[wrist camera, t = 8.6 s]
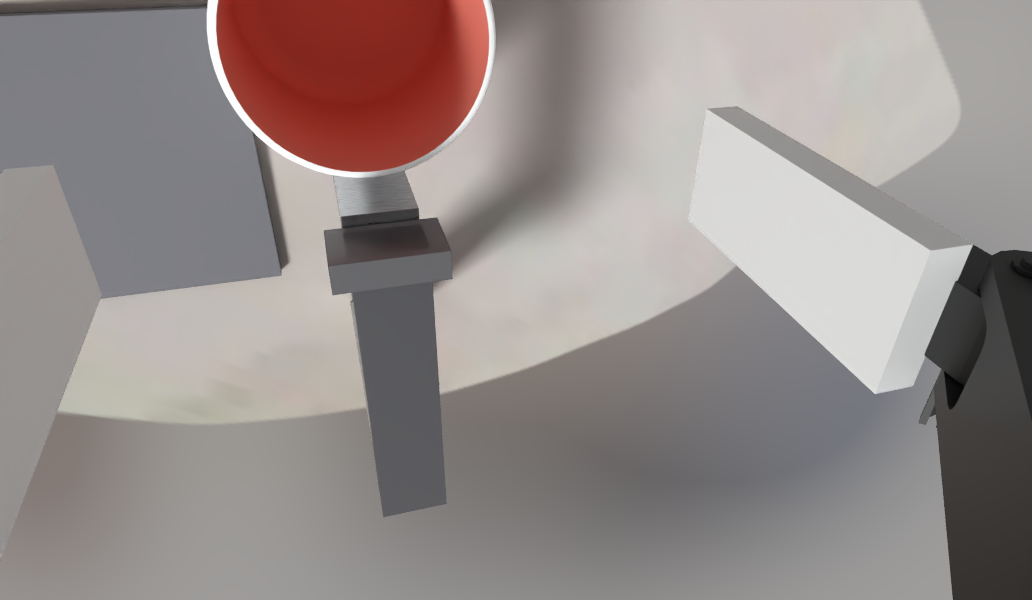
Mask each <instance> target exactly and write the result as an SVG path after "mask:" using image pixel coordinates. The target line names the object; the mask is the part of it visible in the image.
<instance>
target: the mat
mask: <svg viewBox="0 0 1032 600" xmlns="http://www.w3.org/2000/svg"><path fill="white" fill-rule="evenodd" d="M47 165H53V166H54V169H55V171H56V174H57V177H58V179H59V182H60V185H61V187H62V190H63V193H64V195H65V198H66V201H67V203H68V206H69V209H70V211H71V214H72V217H73V219H74V222H75V224H76V227H77V230H78V232H79V235H80V238H81V240H82V243H83V246H84V248H85V251H86V254H87V256H88V259H89V262H90V264H91V267H92V270H93V272H94V275H95V278H96V280H97V283H98V286H99V288H100V291H101V294H102V295H101V298H100V299H102V298H110V297H118V296H126V295H133V294H141V293H149V292H157V291H165V290H172V289H180V288H188V287H196V286H204V285H211V284H219V283H227V282H235V281H243V280H250V279H258V278H266V277H274V276H282V275H281V265H280V261H279V256H278V251H277V246H276V241H275V236H274V231H273V226H272V221H271V216H270V211H269V206H268V201H267V196H266V191H265V186H264V181H263V176H262V171H261V166H260V162H259V157H258V152H257V147H256V142H255V137H254V132H253V131H252V130H251V129H250V128H249V127H248V126H247V125H246V124H245V123H244V121H243V120H242V119H241V118H240V117H239V115H238V114H237V112H236V111H235V110H234V108H233V107H232V105H231V103H230V102H229V100H228V98H227V97H226V95H225V93H224V91H223V89H222V87H221V85H220V83H219V80H218V78H217V75H216V72H215V70H214V66H213V63H212V59H211V55H210V50H209V45H208V37H207V6H185V7H160V8H134V9H109V10H83V11H58V12H32V13H7V14H0V174H1V173H2V171H3V170H4V169H12V168H24V167H35V166H47Z"/></svg>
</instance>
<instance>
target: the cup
mask: <svg viewBox="0 0 1032 600" xmlns="http://www.w3.org/2000/svg"><path fill="white" fill-rule="evenodd" d="M207 37H208V45H209V50H210V55H211V59H212V63H213V66H214V70H215V72H216V75H217V78H218V80H219V83H220V85H221V87H222V89H223V91H224V93H225V95H226V97H227V98H228V100H229V102H230V103H231V105H232V107H233V108H234V110H235V111H236V112H237V114H238V115H239V117H240V118H241V119H242V120H243V121H244V123H245V124H246V125H247V126H248V127H249V128H250V129H251V130H252V131H253V132H254V133H255V134H256V135H257V136H258V137H259V138H260V139H261V140H262V141H263V142H265V143H266V144H267V145H268V146H270V147H271V148H272V149H274V150H275V151H276V152H278V153H280V154H281V155H283V156H284V157H286V158H288V159H290V160H292V161H294V162H295V163H298V164H300V165H303V166H305V167H308V168H310V169H313V170H315V171H319V172H322V173H326V174H330V175H336V176H342V177H353V178H366V177H378V176H385V175H390V174H394V173H398V172H402V171H404V170H407V169H410V168H412V167H415V166H417V165H419V164H421V163H423V162H425V161H427V160H429V159H430V158H432V157H433V156H435V155H436V154H438V153H439V152H441V151H442V150H443V149H445V148H446V147H447V146H448V145H449V144H451V143H452V142H453V141H454V140H455V139H456V138H457V137H458V136H459V135H460V134H461V133H462V131H463V130H464V129H465V128H466V126H467V125H468V124H469V122H470V121H471V120H472V118H473V116H474V115H475V113H476V112H477V110H478V108H479V106H480V104H481V102H482V100H483V98H484V96H485V93H486V91H487V88H488V85H489V82H490V78H491V75H492V71H493V65H494V60H495V50H496V29H495V19H494V12H493V8H492V3H491V0H208V5H207Z"/></svg>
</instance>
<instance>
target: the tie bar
mask: <svg viewBox="0 0 1032 600" xmlns="http://www.w3.org/2000/svg"><path fill="white" fill-rule="evenodd" d="M324 237H325V245H326V253H327V262H328V269H329V276H330V282H331V288H332V294H333V295H338V294H345V293H352V300H353V307H354V314H355V321H356V328H357V335H358V342H359V350H360V357H361V364H362V371H363V378H364V385H365V392H366V399H367V407H368V414H369V421H370V428H371V435H372V442H373V449H374V456H375V463H376V471H377V477H378V485H379V491H380V497H381V504H382V510H383V516H384V517H386V516H391V515H396V514H401V513H405V512H410V511H415V510H419V509H424V508H428V507H433V506H438V505H443V504H446V488H445V474H444V459H443V458H444V457H443V442H442V425H441V409H440V393H439V377H438V362H437V346H436V330H435V314H434V298H433V283H432V282H433V281H440V280H447V279H452V258H451V249H450V247H449V245H448V242H447V240H446V237H445V235H444V233H443V230H442V228H441V226H440V223H439V221H438V219H437V218H428V219H420V220H411V221H402V222H394V223H385V224H376V225H367V226H359V227H350V228H341V229H333V230H324Z"/></svg>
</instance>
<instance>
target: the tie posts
mask: <svg viewBox="0 0 1032 600" xmlns="http://www.w3.org/2000/svg"><path fill="white" fill-rule="evenodd" d="M333 179H334V185H335V191H336V197H337V203H338V209H339V215H340V221H341V227H342V228H350V227H359V226H367V225H376V224H385V223H394V222H402V221H411V220H419V209H418V205H417V203H416V200H415V198H414V195H413V192H412V190H411V187H410V184H409V182H408V179H407V177H406V174H405V171H402V172H398V173H394V174H390V175H385V176H378V177H366V178H353V177H342V176H336V175H333ZM350 303H351V310H352V317H353V323H354V330H355V336H356V342H357V349H358V355H359V361H360V368H361V374H362V380H363V387H364V393H365V400H366V406H367V399H366V392H365V385H364V378H363V371H362V364H361V357H360V350H359V342H358V335H357V328H356V321H355V314H354V307H353V302H350ZM367 412H368V407H367ZM368 418H369V414H368ZM369 424H370V421H369ZM370 431H371V428H370ZM371 438H372V435H371ZM372 444H373V442H372ZM373 450H374V449H373Z"/></svg>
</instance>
